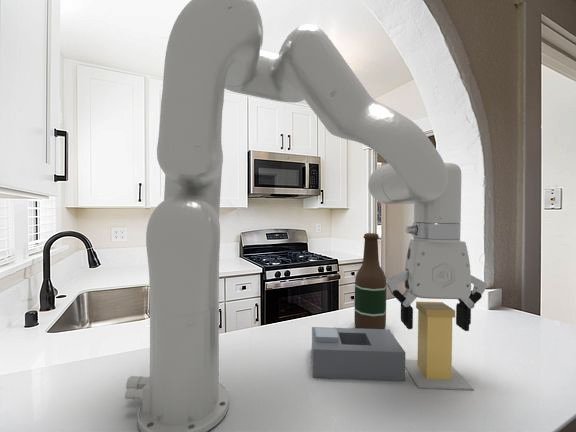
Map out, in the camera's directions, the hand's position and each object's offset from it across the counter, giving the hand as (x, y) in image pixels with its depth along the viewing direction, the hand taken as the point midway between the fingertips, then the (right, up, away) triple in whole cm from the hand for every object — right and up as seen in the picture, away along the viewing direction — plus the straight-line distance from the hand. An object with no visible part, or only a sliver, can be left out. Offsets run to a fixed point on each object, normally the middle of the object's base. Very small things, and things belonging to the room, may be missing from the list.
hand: (434, 327), depth 53 cm
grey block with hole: (-14, -8, +3) cm, 17 cm away
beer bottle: (-6, -8, +21) cm, 23 cm away
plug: (0, -8, 0) cm, 8 cm away
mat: (0, -9, 0) cm, 9 cm away
